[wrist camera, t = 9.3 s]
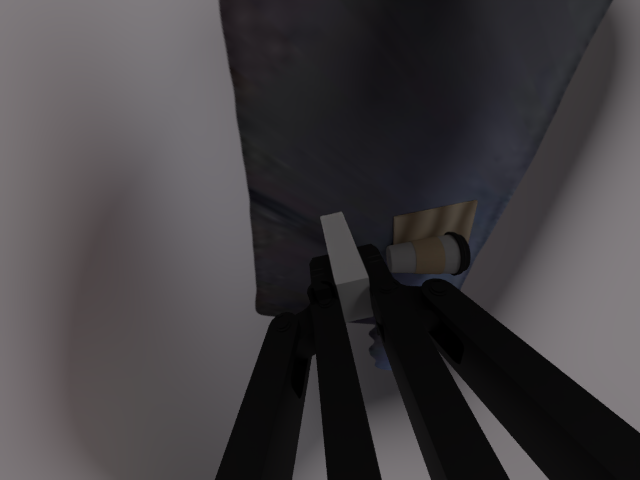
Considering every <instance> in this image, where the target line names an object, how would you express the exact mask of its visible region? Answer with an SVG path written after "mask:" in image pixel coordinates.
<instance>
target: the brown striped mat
mask: <svg viewBox="0 0 640 480" xmlns="http://www.w3.org/2000/svg"><path fill="white" fill-rule="evenodd" d="M477 202H478V201H477V200H473V201H468V202H463V203H458V204H454V205H449V206H444V207H439V208H434V209H429V210H424V211H419V212H414V213H409V214H404V215H399V216H394V238H393V245H395V244H400V243H405V242H409V241H412V240H418V239H423V238H428V237H434V236H436V237H438V236H443V235H444V234H445V233H446V232H455V233H457V234H460V235H462V236H463V237H464V238H465V239H466V241H467V243H468V241H469V237H470V233H471V228H472V224H473V220H474V215H475V211H476V207H477ZM393 273H395V272H393Z"/></svg>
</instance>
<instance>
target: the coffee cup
mask: <svg viewBox="0 0 640 480" xmlns="http://www.w3.org/2000/svg"><path fill="white" fill-rule="evenodd" d="M386 256H387V264H388V268H389V271H390V272H395V273H414V274H442V273H448V274H451V275H454V276H455V275H459V274H461V273H462V272H463V271H465V270H467V269H468V267H469V265H470V249H469V245H468V243H467V241H466V239H465V238H464V237H463V236H462V235H460V234H457V233H455V232H446V233H445V234H444V235H443V236H438V237H436V236H434V237H428V238H423V239H418V240H412V241H409V242H405V243H400V244H395V245H390V246H387V249H386Z"/></svg>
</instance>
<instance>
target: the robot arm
mask: <svg viewBox="0 0 640 480" xmlns="http://www.w3.org/2000/svg"><path fill="white" fill-rule="evenodd" d="M320 218H321V222H322V227H323V231H324V236H325V240H326V245H327V249H328V255H323V256H319V257H315V258H312V260H311V262H310V264H309V265H310V275H311V285H310V286H309V288H308V291H307V294H308V297H309V300H310V302H311V303H310V305H309V306H308V307H307V308H306V309H305V310H303V311H302V312H300V313H298V314H296V315H294V314H293V313H290V312H285V313H281V314H279V315H277V316H276V317H275V318H274V319H273V320H272V321H271V323H270V325H269V327H268V330H267V333H266V336H265V339H264V342H263V345H262V347H261V350H260V353H259V356H258V359H257V362H256V365H255V367H254V370H253V373H252V376H251V379H250V382H249V384H248V387H247V390H246V393H245V396H244V398H243V402H242V404H241V407H240V410H239V413H238V415H237V418H236V421H235V424H234V427H233V430H232V433H231V435H230V438H229V442H228V444H227V447H226V450H225V452H224V455H223V458H222V461H221V464H220V467H219V469H218V473H217V475H216V478H215V480H292V475H293V470H294V464H295V458H296V451H297V445H298V439H299V432H300V426H301V420H302V414H303V407H304V402H305V396H306V389H307V383H308V377H309V370H310V365H311V359H312V356H313V355H315V354H316V360H317V371H318V382H319V392H320V403H321V414H322V425H323V436H324V447H325V457H326V468H327V479H328V480H382V479H381V474H380V470H379V466H378V462H377V457H376V453H375V448H374V444H373V440H372V435H371V431H370V427H369V423H368V418H367V414H366V410H365V406H364V401H363V397H362V393H361V388H360V384H359V379H358V375H357V371H356V366H355V362H354V358H353V354H352V349H351V345H350V341H349V337H348V332H347V328H346V322H350V321H355V320H359V319H364V318H368V317H373V313H374V316H375V318H376V325H377V334H378V335H380V337H381V340H382V343H383V346H384V348H385V351H386V354H387V357H388V360H389V362H390V365H391V368H392V371H393V374H394V377H395V379H396V382H397V385H398V388H399V391H400V393H401V396H402V399H403V402H404V405H405V408H406V410H407V413H408V416H409V419H410V422H411V424H412V427H413V430H414V433H415V436H416V439H417V441H418V444H419V447H420V450H421V452H422V455H423V458H424V461H425V464H426V467H427V469H428V472H429V475H430V478H431V480H510V479H509V478H508V476H507V474H506V472H505V470H504V469H503V467H502V465H501V463H500V461H499V459H498V458H497V456H496V454H495V452H494V451H493V449H492V447H491V445H490V443H489V442H488V440H487V438H486V436H485V434H484V433H483V431H482V429H481V427H480V426H479V424H478V422H477V420H476V418H475V417H474V415H473V413H472V411H471V409H470V407H469V406H468V404H467V402H466V400H465V399H464V397H463V395H462V393H461V391H460V389H459V388H458V386H457V384H456V382H455V381H454V379H453V377H452V375H451V373H450V372H449V370H448V368H447V366H446V364H445V363H444V361H443V359H442V357H441V355H442V356H443V357H444V358H445V359H446V360H447V361H448V362H449V364H450V365H451V366H452V367H453V368H454V370H455V371H456V372H457V373H458V374H459V375H460V377H461V378H462V379H463V380H464V381H465V382H466V383H467V385H468V386H469V387H470V388H471V389H472V390H473V392H474V393H475V394H476V395H477V396H478V397H479V399H480V400H481V401H482V402H483V403H484V404H485V406H486V407H487V408H488V409H489V410H490V411H491V413H492V414H493V415H494V416H495V417H496V418H497V419H498V421H499V422H500V423H501V424H502V425H503V426H504V428H505V429H506V430H507V431H508V432H509V433H510V435H511V436H512V437H513V438H514V439H515V440H516V441H517V443H518V444H519V445H520V446H521V447H522V449H523V450H524V451H525V452H526V453H527V454H528V455H529V457H530V458H531V459H532V460H533V461H534V462H535V464H536V465H537V466H538V467H539V468H540V469H541V471H542V472H543V473H544V474H545V475H546V476H547V477H548V479H549V480H640V433H639V432H638V431H637V430H635V429H634V428H633V427H632V426H630V425H629V424H628V423H626V422H625V421H624V420H623V419H621V418H620V417H619V416H618V415H616V414H615V413H614V412H612V411H611V410H610V409H609V408H608V407H606V406H605V405H604V404H602V403H601V402H600V401H599V400H598V399H596V398H595V397H594V396H592V395H591V394H590V393H589V392H587V391H586V390H585V389H584V388H582V387H581V386H580V385H578V384H577V383H576V382H575V381H573V380H572V379H571V378H570V377H568V376H567V375H566V374H565V373H563V372H562V371H561V370H560V369H558V368H557V367H556V366H555V365H553V364H552V363H551V362H550V361H548V360H547V359H546V358H544V357H543V356H542V355H540V354H539V353H538V352H537V351H536V350H534V349H533V348H532V347H531V346H529V345H528V344H527V343H526V342H524V341H523V340H522V339H520V338H519V337H518V336H517V335H515V334H514V333H513V332H511V331H510V330H509V329H508V328H507V327H505V326H504V325H503V324H501V323H500V322H499V321H498V320H496V319H495V318H494V317H493V316H491V315H490V314H489V313H488V312H486V311H485V310H484V309H483V308H481V307H480V306H479V305H477V304H476V303H475V302H474V301H472V300H471V299H470V298H469V297H467V296H466V295H465V294H463V293H462V292H461V291H460V290H459V289H457V288H456V287H455V286H453V285H452V284H451V283H449V282H447V281H446V280H442V279H434V278H433V279H429V280H426V281H425V282H424V283H423V284H422V286H406V285H403V284H400V283H399V282H398V281H397V280H395V279H394V278H393V277H392V275H391V273H390V271H389V269H388V267H387V265H386V264H385V262H384V260H383V258H382V256H381V255H380V252H379V251H378V249H377V248H376V247H375V246H373V245H372V244H368V245H364V246H360V247H356V245H355V243H354V240H353V238H352V235H351V233H350V230H349V228H348V226H347V223H346V221H345V218H344V216H343V213H342V212H338V213H334V214H330V215H326V216H321V217H320ZM438 351H439V352H440V353H441V355H440V354H439V352H438Z"/></svg>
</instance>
